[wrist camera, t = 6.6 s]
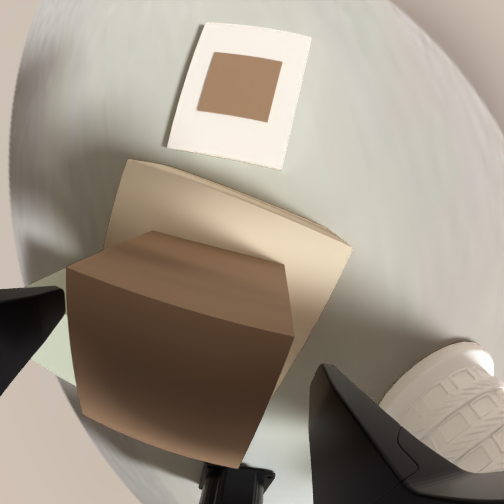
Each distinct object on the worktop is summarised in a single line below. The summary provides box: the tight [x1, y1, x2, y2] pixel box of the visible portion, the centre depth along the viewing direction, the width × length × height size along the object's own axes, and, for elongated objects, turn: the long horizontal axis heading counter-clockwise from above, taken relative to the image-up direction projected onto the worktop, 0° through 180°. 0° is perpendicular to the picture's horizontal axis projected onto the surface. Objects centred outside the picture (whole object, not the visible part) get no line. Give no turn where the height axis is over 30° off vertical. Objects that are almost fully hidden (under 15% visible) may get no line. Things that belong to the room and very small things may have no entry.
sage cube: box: [24, 268, 76, 386], centre depth 14 cm, size 5×5×5 cm
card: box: [167, 22, 312, 171], centre depth 12 cm, size 8×6×1 cm
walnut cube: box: [66, 230, 295, 469], centre depth 8 cm, size 5×5×5 cm
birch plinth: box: [103, 159, 353, 399], centre depth 13 cm, size 9×9×5 cm
